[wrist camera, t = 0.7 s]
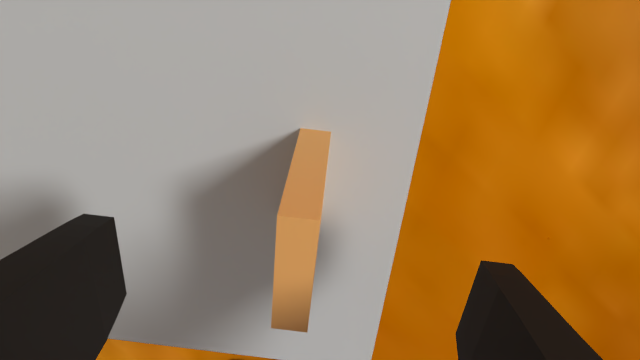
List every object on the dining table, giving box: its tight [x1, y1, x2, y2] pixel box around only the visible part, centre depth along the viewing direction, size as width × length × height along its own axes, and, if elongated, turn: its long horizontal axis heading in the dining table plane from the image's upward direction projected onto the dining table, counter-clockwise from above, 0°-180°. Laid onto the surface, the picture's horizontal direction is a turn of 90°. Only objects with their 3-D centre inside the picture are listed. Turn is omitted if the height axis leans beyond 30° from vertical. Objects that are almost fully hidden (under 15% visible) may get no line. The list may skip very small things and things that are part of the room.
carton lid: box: [0, 0, 451, 360], centre depth 11 cm, size 15×14×4 cm
